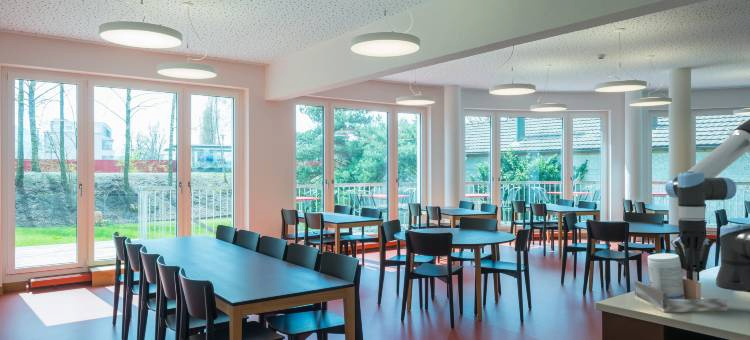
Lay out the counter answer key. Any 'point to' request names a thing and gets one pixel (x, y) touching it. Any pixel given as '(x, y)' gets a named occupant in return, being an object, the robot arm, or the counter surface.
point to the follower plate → (691, 289)
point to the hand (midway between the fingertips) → (693, 290)
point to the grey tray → (676, 301)
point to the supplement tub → (666, 274)
